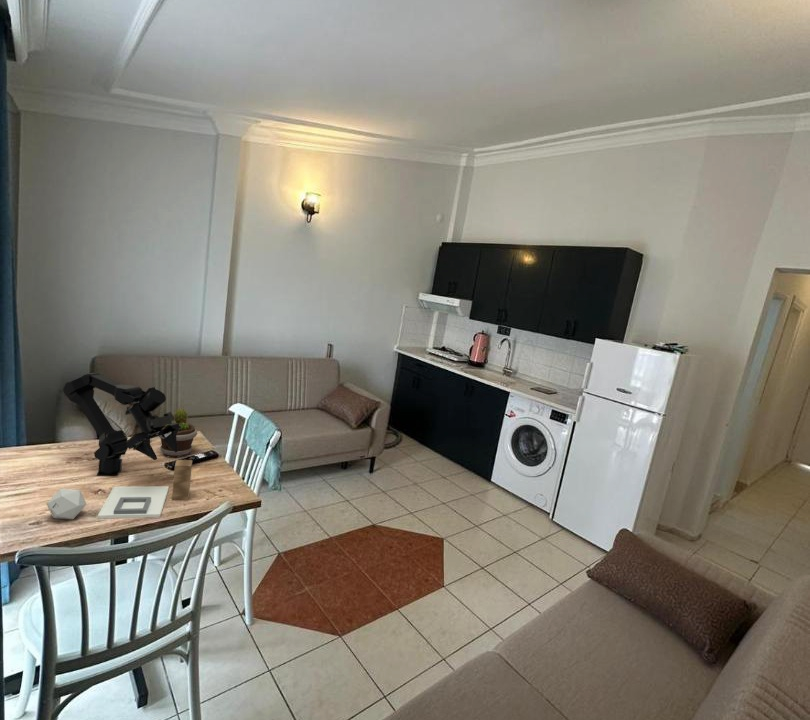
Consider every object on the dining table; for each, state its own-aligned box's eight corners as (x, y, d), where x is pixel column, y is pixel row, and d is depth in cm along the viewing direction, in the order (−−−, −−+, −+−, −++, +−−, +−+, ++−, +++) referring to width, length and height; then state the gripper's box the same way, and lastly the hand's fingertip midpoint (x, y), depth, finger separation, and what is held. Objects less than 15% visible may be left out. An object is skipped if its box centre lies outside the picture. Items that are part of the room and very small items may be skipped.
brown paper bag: (171, 500, 157) (174, 465, 155) (173, 493, 162) (176, 459, 160) (187, 499, 159) (191, 465, 157) (189, 493, 163) (192, 460, 162)
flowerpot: (189, 461, 189) (193, 415, 186) (149, 458, 187) (153, 410, 184) (199, 449, 203) (204, 405, 200) (163, 445, 201) (166, 401, 198)
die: (48, 513, 139) (36, 498, 132) (78, 492, 145) (68, 477, 138) (65, 531, 137) (54, 516, 130) (95, 509, 143) (86, 494, 136)
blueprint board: (97, 518, 140) (97, 511, 139) (113, 489, 158) (114, 483, 158) (159, 517, 146) (160, 510, 145) (168, 489, 164) (169, 483, 164)
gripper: (135, 411, 151) (159, 451, 149) (179, 401, 168) (200, 437, 167) (115, 428, 154) (138, 468, 152) (160, 417, 172) (181, 452, 170)
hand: (166, 455), depth 160 cm, fingers open, 9 cm apart
